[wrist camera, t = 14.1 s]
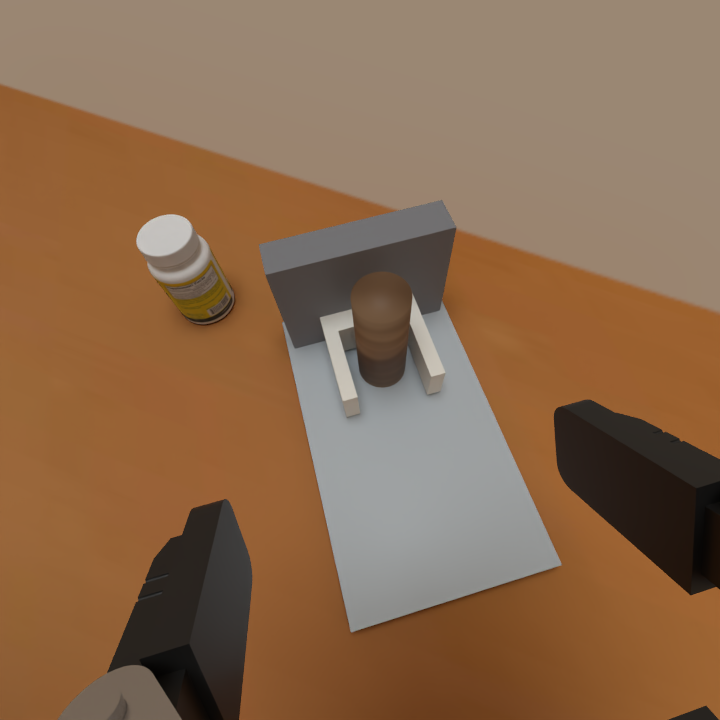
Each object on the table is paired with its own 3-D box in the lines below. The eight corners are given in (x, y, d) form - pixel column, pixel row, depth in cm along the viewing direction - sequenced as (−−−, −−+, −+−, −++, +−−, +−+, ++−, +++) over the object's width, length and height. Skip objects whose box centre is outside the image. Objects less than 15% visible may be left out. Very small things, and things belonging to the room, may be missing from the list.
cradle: (440, 391, 30) (445, 372, 28) (346, 417, 30) (342, 401, 27) (410, 316, 33) (412, 293, 31) (325, 338, 33) (319, 317, 30)
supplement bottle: (185, 284, 38) (137, 212, 31) (237, 279, 38) (201, 206, 31) (179, 328, 36) (124, 263, 28) (233, 323, 36) (193, 256, 28)
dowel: (402, 390, 31) (408, 326, 23) (355, 384, 31) (345, 318, 23) (407, 348, 32) (415, 274, 24) (362, 343, 33) (356, 268, 25)
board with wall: (554, 565, 26) (644, 557, 17) (352, 630, 25) (333, 658, 16) (432, 291, 36) (447, 195, 27) (285, 329, 35) (250, 243, 26)
